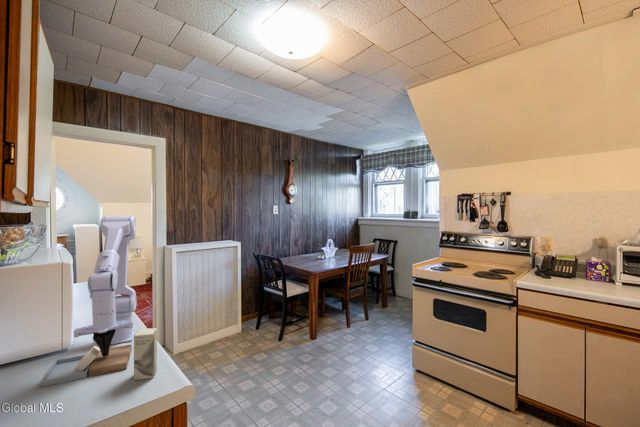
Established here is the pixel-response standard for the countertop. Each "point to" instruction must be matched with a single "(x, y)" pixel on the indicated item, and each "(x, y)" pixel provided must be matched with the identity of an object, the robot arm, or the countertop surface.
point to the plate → (111, 361)
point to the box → (145, 353)
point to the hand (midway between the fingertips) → (105, 354)
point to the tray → (64, 371)
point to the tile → (88, 358)
